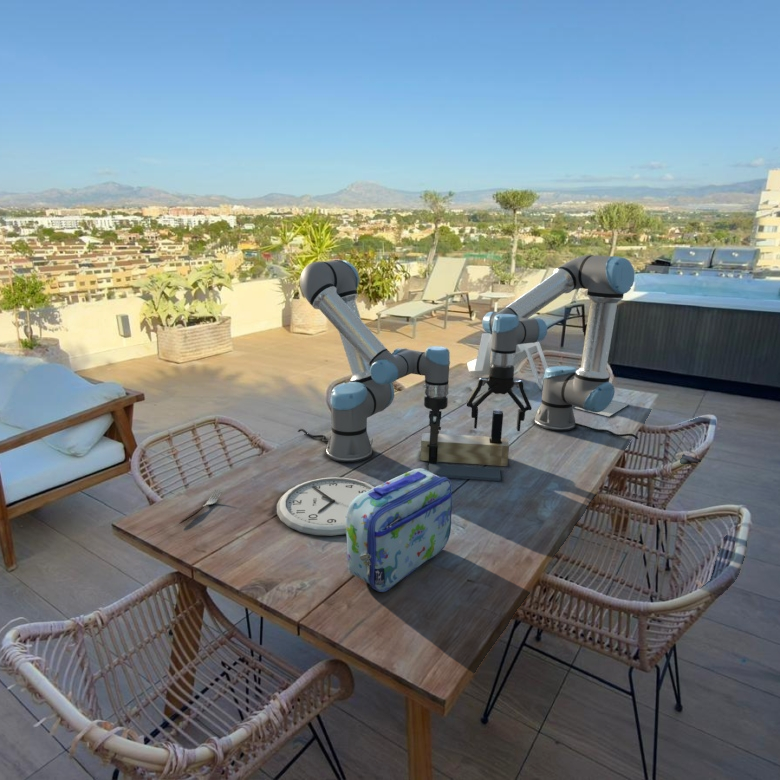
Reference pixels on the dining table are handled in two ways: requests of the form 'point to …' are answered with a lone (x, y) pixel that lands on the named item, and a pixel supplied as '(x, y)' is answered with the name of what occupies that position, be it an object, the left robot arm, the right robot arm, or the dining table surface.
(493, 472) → the mat
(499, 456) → the wooden block
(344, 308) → the left robot arm
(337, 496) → the wall clock
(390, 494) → the lunch box
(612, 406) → the invitation card
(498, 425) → the peg
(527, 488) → the dining table surface
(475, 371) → the white plastic object
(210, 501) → the fork
